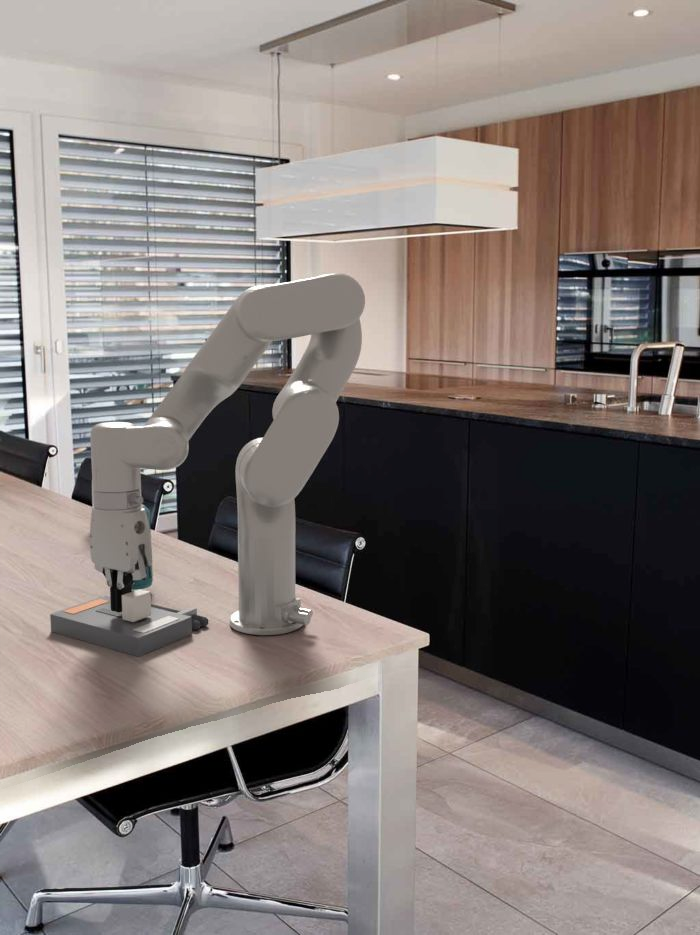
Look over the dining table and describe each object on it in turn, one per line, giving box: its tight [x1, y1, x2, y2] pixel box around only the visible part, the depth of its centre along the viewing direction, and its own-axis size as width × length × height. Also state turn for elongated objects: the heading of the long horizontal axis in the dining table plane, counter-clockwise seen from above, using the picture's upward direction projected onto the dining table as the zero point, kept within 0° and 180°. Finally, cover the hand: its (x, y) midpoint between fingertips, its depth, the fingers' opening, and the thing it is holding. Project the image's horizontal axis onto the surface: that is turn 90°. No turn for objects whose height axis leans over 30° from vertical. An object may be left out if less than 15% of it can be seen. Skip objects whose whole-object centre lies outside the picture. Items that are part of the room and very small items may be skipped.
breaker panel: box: [49, 595, 193, 658], centre depth 155 cm, size 20×12×3 cm, turn 57°
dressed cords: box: [151, 603, 209, 631], centre depth 163 cm, size 20×4×2 cm, turn 57°
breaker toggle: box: [122, 589, 152, 622], centre depth 153 cm, size 2×4×4 cm, turn 147°
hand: (121, 609), depth 155 cm, fingers closed
